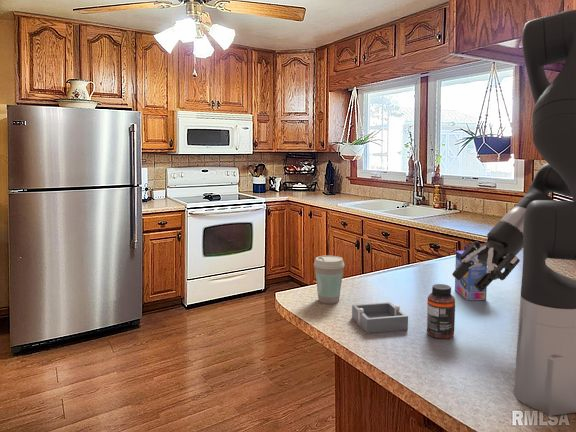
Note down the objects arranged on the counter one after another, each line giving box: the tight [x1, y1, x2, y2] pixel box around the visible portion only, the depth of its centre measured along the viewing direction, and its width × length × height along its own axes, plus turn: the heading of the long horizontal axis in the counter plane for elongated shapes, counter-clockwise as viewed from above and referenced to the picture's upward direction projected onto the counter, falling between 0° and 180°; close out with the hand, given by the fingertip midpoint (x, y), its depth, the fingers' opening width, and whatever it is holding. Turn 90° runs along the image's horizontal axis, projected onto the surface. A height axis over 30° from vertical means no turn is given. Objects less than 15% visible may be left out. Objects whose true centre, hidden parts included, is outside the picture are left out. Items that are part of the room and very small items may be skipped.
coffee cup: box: [313, 255, 346, 305], centre depth 124 cm, size 9×9×12 cm
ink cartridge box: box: [454, 244, 488, 301], centre depth 128 cm, size 10×6×14 cm, turn 2°
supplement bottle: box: [426, 283, 456, 340], centre depth 100 cm, size 6×6×11 cm
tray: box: [351, 301, 409, 334], centre depth 107 cm, size 10×10×4 cm
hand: (465, 282), depth 100 cm, fingers open, 8 cm apart
